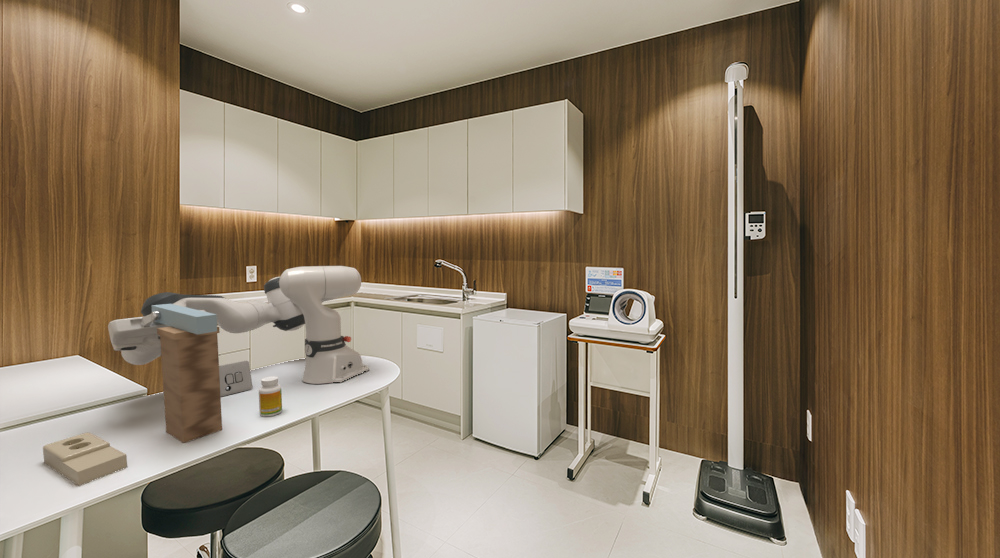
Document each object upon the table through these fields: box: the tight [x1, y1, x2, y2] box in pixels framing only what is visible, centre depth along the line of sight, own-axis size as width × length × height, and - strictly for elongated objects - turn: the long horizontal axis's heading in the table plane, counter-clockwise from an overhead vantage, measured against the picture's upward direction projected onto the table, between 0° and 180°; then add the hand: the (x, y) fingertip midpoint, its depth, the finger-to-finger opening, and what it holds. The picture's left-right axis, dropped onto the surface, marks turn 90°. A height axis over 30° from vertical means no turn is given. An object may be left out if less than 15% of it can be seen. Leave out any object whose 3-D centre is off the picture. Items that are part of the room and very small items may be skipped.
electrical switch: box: [219, 360, 253, 397], centre depth 124 cm, size 9×5×9 cm, turn 141°
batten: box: [152, 304, 218, 334], centre depth 97 cm, size 4×26×4 cm, turn 58°
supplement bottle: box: [258, 376, 283, 417], centre depth 108 cm, size 5×5×10 cm
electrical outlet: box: [42, 432, 128, 487], centre depth 83 cm, size 7×4×18 cm
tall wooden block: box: [157, 325, 223, 444], centre depth 97 cm, size 9×10×26 cm
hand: (170, 312), depth 101 cm, fingers closed on batten, 4 cm apart
